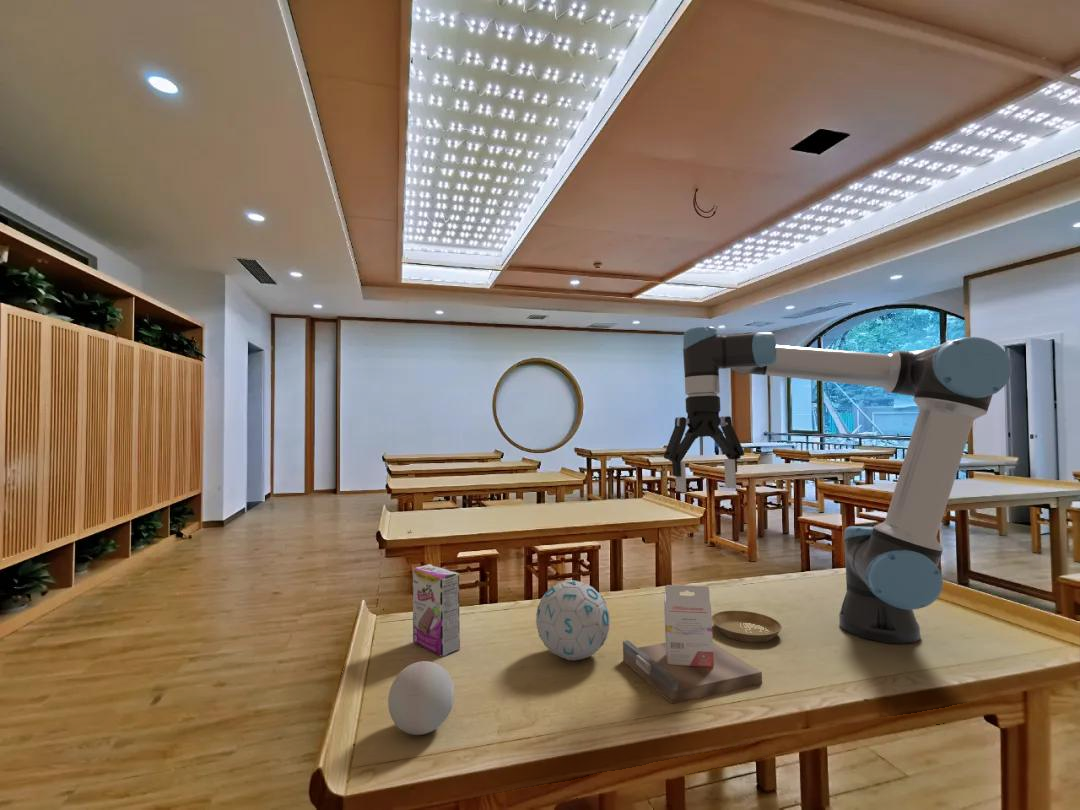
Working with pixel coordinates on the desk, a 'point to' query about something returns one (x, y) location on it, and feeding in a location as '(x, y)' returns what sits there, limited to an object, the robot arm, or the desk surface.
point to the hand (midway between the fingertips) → (706, 489)
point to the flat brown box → (689, 672)
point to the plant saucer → (731, 625)
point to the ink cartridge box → (688, 626)
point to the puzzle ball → (572, 620)
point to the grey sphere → (421, 698)
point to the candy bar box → (436, 609)
